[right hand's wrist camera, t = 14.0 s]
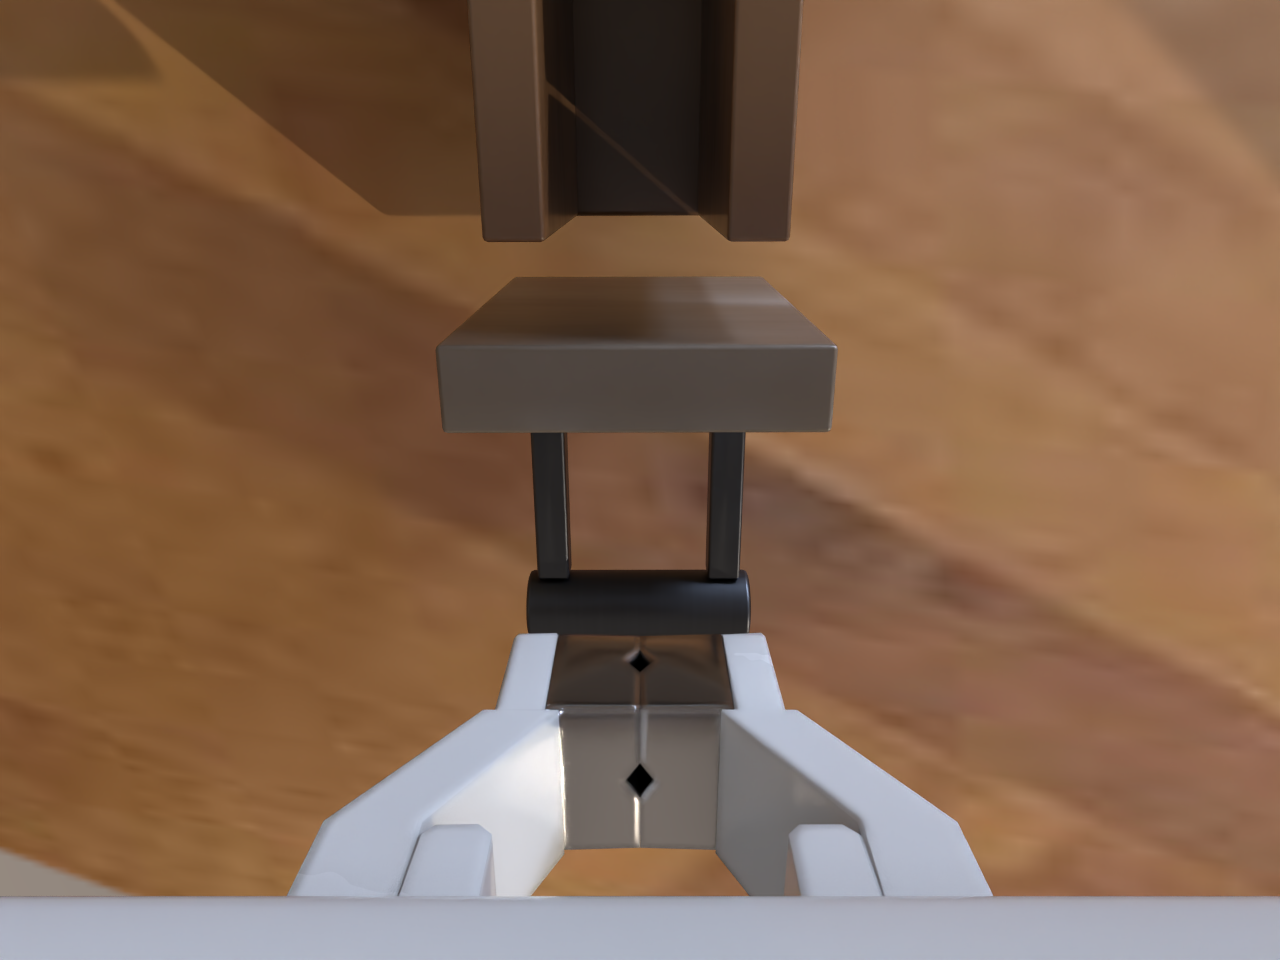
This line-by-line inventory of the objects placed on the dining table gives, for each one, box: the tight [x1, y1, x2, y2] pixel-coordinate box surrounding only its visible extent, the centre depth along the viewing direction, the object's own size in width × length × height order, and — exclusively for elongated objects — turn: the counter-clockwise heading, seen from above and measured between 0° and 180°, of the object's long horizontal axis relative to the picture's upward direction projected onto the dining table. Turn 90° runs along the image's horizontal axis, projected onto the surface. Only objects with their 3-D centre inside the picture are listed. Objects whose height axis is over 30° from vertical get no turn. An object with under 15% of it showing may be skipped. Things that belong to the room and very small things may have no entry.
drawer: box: [436, 0, 838, 636], centre depth 13 cm, size 20×5×7 cm, turn 0°
